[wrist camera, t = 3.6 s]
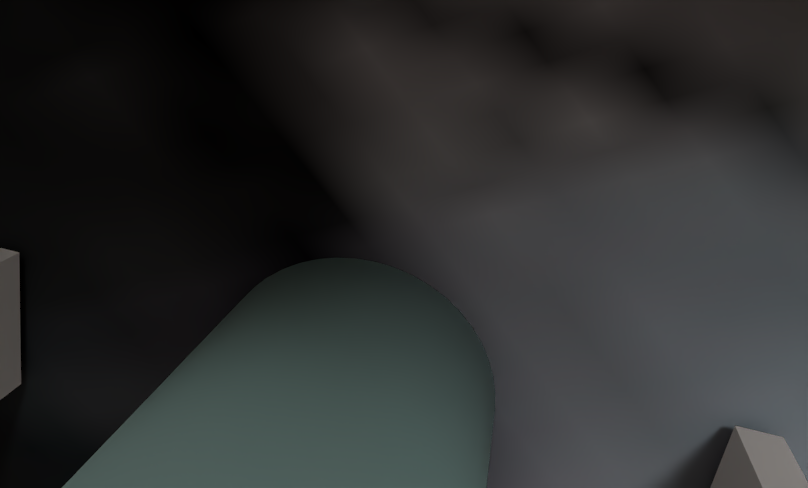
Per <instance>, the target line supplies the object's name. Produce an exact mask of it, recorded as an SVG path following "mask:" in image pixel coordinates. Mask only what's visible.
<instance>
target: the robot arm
mask: <svg viewBox="0 0 808 488" xmlns="http://www.w3.org/2000/svg"><path fill="white" fill-rule="evenodd" d="M20 384H21V338H20V266H19V252H15V251H11V250H7V249H3V248H0V400H1V399H2V398H3V397H5V396H6V395H7V394H9V393H10V392H11V391H13V390H14V389H15V388H16V387H18V386H19V385H20ZM710 488H808V482H807V480H806V478H805V476H804V474H803V472H802V470H801V469H800V467H799V465H798V463H797V461H796V459H795V458H794V456H793V454H792V452H791V450H790V448H789V446H788V445H787V443H786V441H785V439H784V437H780V436H776V435H772V434H768V433H764V432H760V431H755V430H751V429H747V428H743V427H739V426H735V427H734V429H733V432H732V434H731V437H730V439H729V442H728V444H727V447H726V449H725V452H724V454H723V457H722V459H721V462H720V465H719V467H718V470H717V472H716V475H715V477H714V480H713V482H712V485H711V487H710Z"/></svg>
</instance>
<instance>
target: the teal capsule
mask: <svg viewBox="0 0 808 488" xmlns="http://www.w3.org/2000/svg"><path fill="white" fill-rule="evenodd" d="M494 413H495V388H494V380H493V374H492V371H491V367H490V363H489V360H488V357H487V355H486V353H485V350H484V348H483V346H482V343H481V341H480V340H479V338H478V336H477V335H476V333H475V331H474V330H473V328H472V326H471V325H470V324H469V323H468V321H467V320H466V319H465V318H464V316H463V315H462V314H461V313H460V311H459V310H458V309H457V308H456V307H455V306H454V305H453V304H452V303H451V302H450V301H449V300H447V299H446V298H445V297H444V296H443V295H442V294H440V293H439V292H438V291H436V290H435V289H434V288H432V287H431V286H430V285H428V284H426V283H425V282H423V281H421V280H420V279H418V278H416V277H414V276H413V275H411V274H408V273H406V272H404V271H401V270H399V269H397V268H394V267H391V266H388V265H385V264H381V263H378V262H374V261H368V260H362V259H357V258H337V257H335V258H324V259H315V260H311V261H306V262H302V263H298V264H295V265H293V266H290V267H287V268H284V269H282V270H280V271H278V272H276V273H275V274H273V275H271V276H269V277H267V278H266V279H264V280H263V281H262V282H260V283H259V284H258V285H256V286H255V287H254V288H253V289H252V290H251V291H250V292H249V293H248V294H247V295H246V296H245V297H244V298H243V299H242V300H241V301H240V302H239V303H238V304H237V305H236V306H235V307H234V308H233V309H232V310H231V311H230V313H229V314H228V315H227V316H226V317H225V318H224V319H223V320H222V321H221V322H220V323H219V324H218V325H217V326H216V327H215V328H214V329H213V330H212V331H211V332H210V333H209V334H208V335H207V337H206V338H205V339H204V340H203V341H202V342H201V343H200V344H199V345H198V346H197V347H196V348H195V349H194V350H193V351H192V352H191V353H190V354H189V355H188V356H187V357H186V358H185V360H184V361H183V362H182V363H181V364H180V365H179V366H178V367H177V368H176V369H175V370H174V371H173V372H172V373H171V374H170V375H169V376H168V377H167V378H166V379H165V380H164V381H163V383H162V384H161V385H160V386H159V387H158V388H157V389H156V390H155V391H154V392H153V393H152V394H151V395H150V396H149V397H148V398H147V399H146V400H145V401H144V402H143V403H142V404H141V406H140V407H139V408H138V409H137V410H136V411H135V412H134V413H133V414H132V415H131V416H130V417H129V418H128V419H127V420H126V421H125V422H124V423H123V424H122V425H121V426H120V427H119V429H118V430H117V431H116V432H115V433H114V434H113V435H112V436H111V437H110V438H109V439H108V440H107V441H106V442H105V443H104V444H103V445H102V446H101V447H100V448H99V449H98V450H97V452H96V453H95V454H94V455H93V456H92V457H91V458H90V459H89V460H88V461H87V462H86V463H85V464H84V465H83V466H82V467H81V468H80V469H79V470H78V471H77V472H76V473H75V475H74V476H73V477H72V478H71V479H70V480H69V481H68V482H67V483H66V484H65V485H64V486H63V487H62V488H487V479H488V469H489V460H490V451H491V441H492V432H493V423H494Z"/></svg>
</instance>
